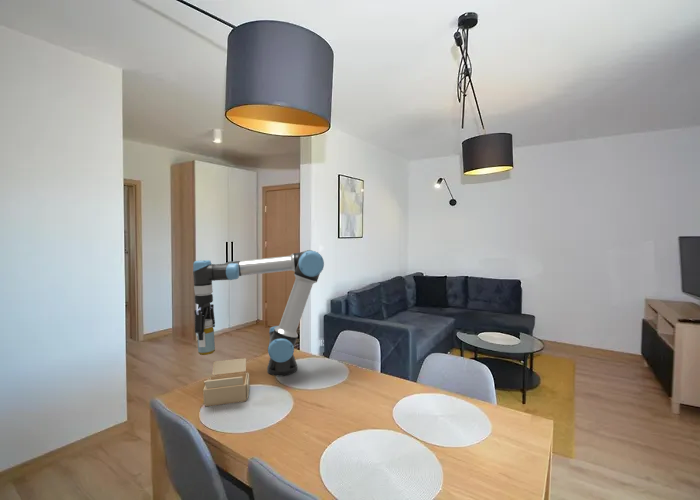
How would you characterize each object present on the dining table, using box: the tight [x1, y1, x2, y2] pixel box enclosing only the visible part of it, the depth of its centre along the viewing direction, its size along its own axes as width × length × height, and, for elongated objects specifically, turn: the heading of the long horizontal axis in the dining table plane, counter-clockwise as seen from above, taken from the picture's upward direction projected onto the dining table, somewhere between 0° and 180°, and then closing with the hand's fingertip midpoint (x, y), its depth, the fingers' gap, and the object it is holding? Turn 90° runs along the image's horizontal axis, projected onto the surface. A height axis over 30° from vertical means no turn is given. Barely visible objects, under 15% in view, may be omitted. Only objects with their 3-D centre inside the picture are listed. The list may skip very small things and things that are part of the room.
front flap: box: [203, 377, 243, 389], centre depth 138 cm, size 6×14×1 cm
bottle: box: [196, 319, 216, 356], centre depth 154 cm, size 7×7×15 cm
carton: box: [202, 371, 251, 408], centre depth 147 cm, size 17×14×7 cm
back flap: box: [212, 357, 247, 376], centre depth 155 cm, size 6×14×1 cm
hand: (206, 344), depth 154 cm, fingers closed on bottle, 7 cm apart
